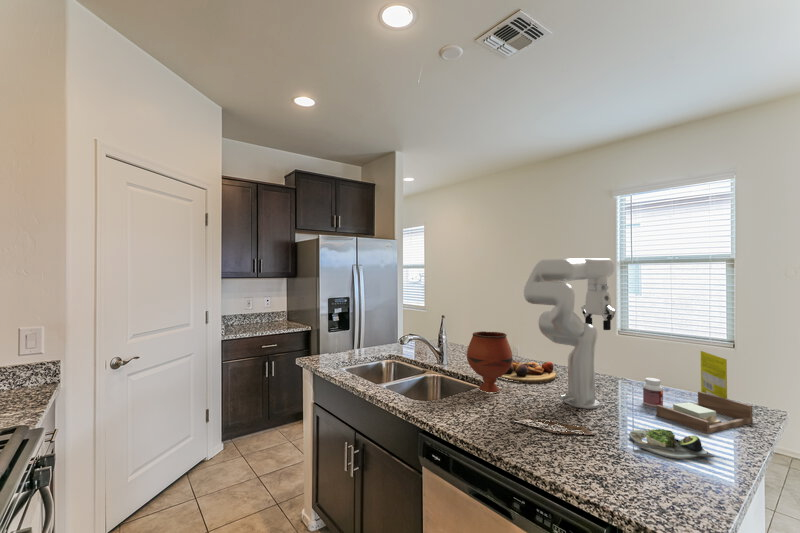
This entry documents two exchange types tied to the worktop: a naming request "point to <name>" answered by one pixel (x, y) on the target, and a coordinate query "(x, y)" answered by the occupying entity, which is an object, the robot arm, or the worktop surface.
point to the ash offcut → (702, 418)
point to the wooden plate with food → (530, 372)
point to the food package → (713, 375)
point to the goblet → (489, 357)
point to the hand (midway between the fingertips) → (597, 328)
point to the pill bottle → (652, 392)
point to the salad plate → (669, 444)
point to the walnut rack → (716, 404)
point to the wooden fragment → (566, 427)
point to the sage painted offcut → (694, 410)
